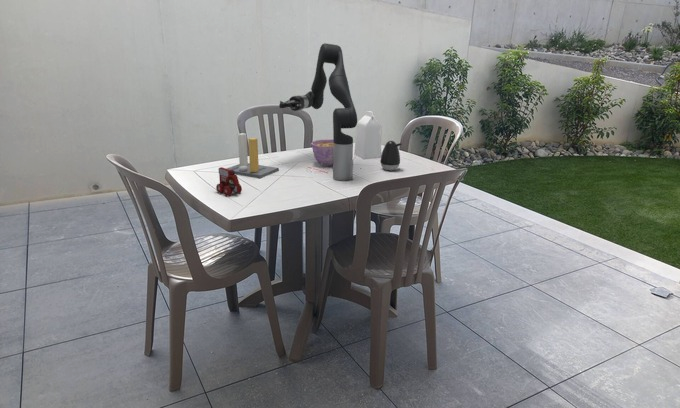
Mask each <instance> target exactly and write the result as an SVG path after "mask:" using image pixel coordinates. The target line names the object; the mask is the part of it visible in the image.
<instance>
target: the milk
mask: <svg viewBox="0 0 680 408" xmlns="http://www.w3.org/2000/svg"><path fill="white" fill-rule="evenodd" d="M381 155H382V123H380V122H379V121H378V120H377V118H376V117H375V116H374V111H370V110H365V113H364V115H363V116H362V117H361V119H359V120H358V121H357V125H356V127H355V143H354V154H353V156H356V157H358V158H360V159H362V160H371V159H372V160H373V159H381Z"/></svg>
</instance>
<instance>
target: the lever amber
mask: <svg viewBox="0 0 680 408" xmlns="http://www.w3.org/2000/svg"><path fill="white" fill-rule="evenodd" d="M247 141H248V153H249V154H248V158H249V160H248V161H249V163H250V172H257V171H259V165H260V164H259V145H258V144H259V143H258V138H256V137H250V138H247Z"/></svg>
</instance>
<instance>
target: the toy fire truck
mask: <svg viewBox="0 0 680 408" xmlns="http://www.w3.org/2000/svg"><path fill="white" fill-rule="evenodd" d="M218 174H219V177H218V178H219V183H217V184H216V186H215V189H216V191H217V192H218V193H219V194H223V193H224V195H225V196H227V197H229V196H231V195H232V193H236V194H239V193H241V192H242V190H243V189H242V185H241V184H240V181H239V178H238V176H237V174H235V171H234V170H229V169H226V168H225V167H224V166H223V167H222V166H221V167H219V168H218Z"/></svg>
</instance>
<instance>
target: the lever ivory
mask: <svg viewBox="0 0 680 408" xmlns="http://www.w3.org/2000/svg"><path fill="white" fill-rule="evenodd" d="M247 141H248V137H247V133H243V132H242V133H238V134H237V143H238V144H237V145H238V158H239V159H238V160H239V161H238V162H239V163H238V164H240V165H241V166H246V165H248V163H249V160H248V158H249V154H248V142H247Z"/></svg>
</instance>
